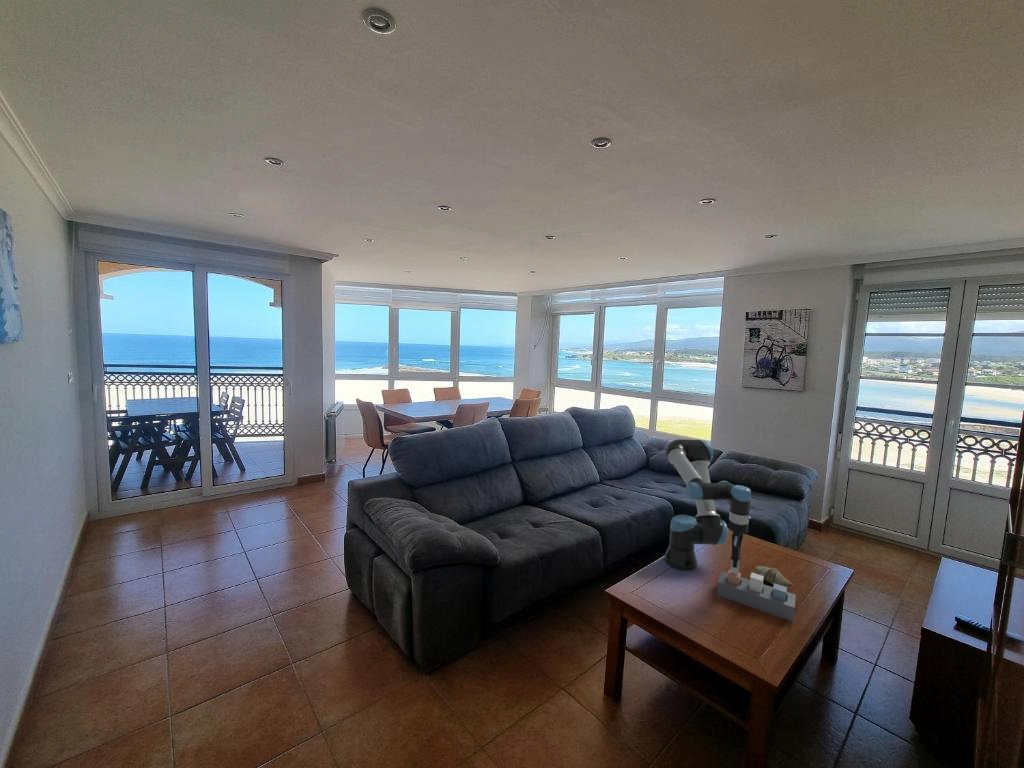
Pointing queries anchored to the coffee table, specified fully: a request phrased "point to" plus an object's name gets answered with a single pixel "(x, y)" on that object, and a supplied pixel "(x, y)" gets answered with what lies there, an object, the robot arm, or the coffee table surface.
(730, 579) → the salmon brown block
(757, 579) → the white key
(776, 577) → the seashell
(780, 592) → the blue key
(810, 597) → the coffee table surface
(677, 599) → the coffee table surface
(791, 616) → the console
